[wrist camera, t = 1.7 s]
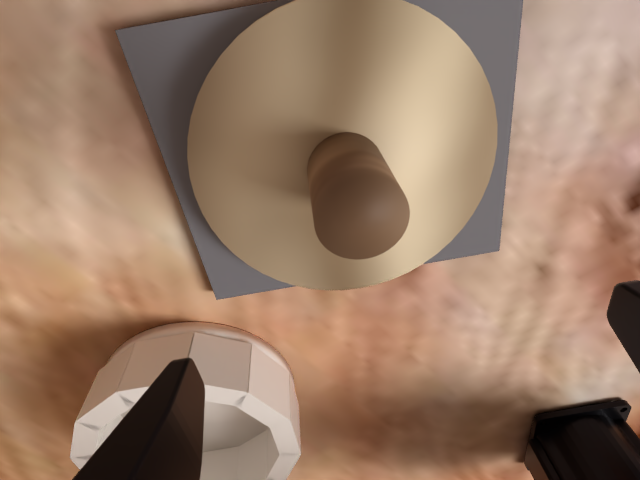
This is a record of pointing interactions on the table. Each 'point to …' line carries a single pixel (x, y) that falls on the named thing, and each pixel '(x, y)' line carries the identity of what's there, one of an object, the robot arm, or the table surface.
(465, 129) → the lid
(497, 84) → the mat
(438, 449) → the table surface
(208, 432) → the bowl
